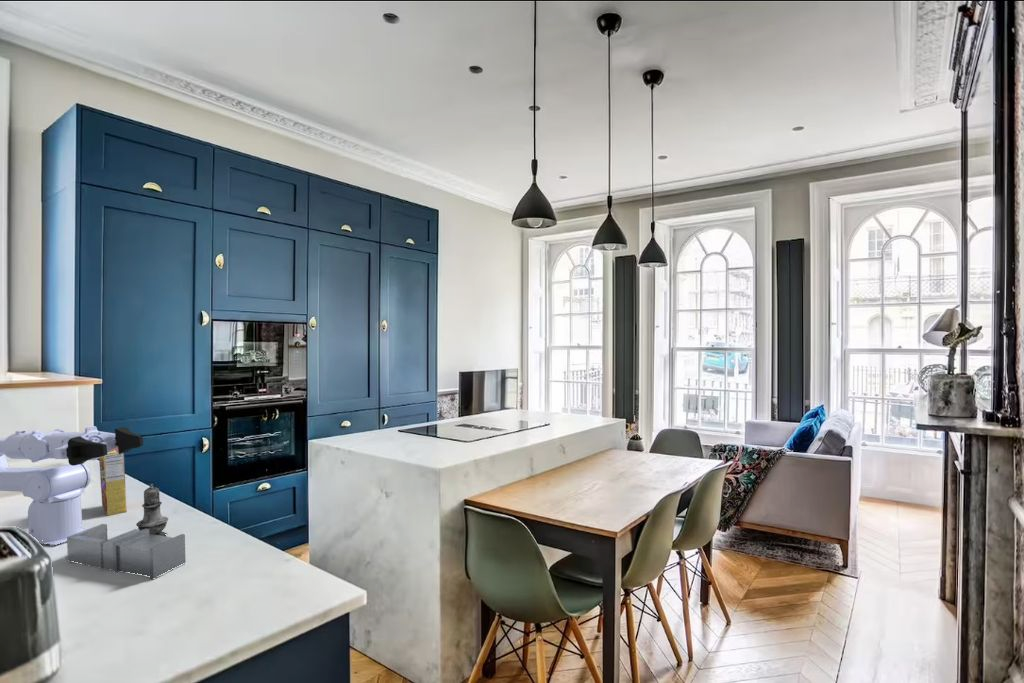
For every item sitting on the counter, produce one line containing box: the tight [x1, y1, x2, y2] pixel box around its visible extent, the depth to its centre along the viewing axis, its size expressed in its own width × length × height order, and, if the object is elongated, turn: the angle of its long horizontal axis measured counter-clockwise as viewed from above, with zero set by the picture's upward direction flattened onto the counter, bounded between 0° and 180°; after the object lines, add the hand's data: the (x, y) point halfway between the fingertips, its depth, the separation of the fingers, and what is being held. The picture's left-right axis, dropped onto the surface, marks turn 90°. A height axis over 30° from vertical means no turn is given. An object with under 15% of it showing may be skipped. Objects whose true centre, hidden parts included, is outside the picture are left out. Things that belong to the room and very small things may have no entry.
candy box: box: [98, 447, 128, 516], centre depth 137 cm, size 9×4×15 cm, turn 44°
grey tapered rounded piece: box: [135, 482, 169, 537], centre depth 120 cm, size 6×6×12 cm
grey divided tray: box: [66, 523, 187, 579], centre depth 108 cm, size 23×7×6 cm, turn 73°
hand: (123, 445), depth 113 cm, fingers open, 7 cm apart
